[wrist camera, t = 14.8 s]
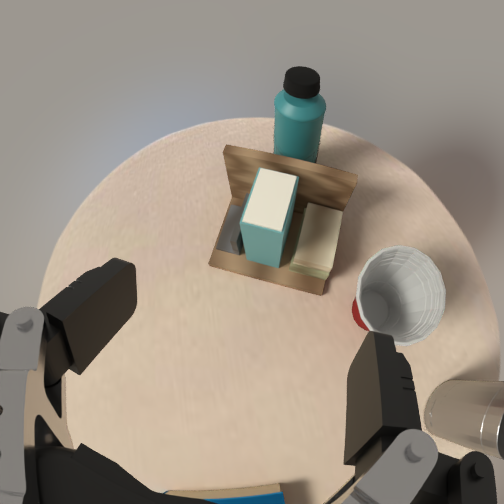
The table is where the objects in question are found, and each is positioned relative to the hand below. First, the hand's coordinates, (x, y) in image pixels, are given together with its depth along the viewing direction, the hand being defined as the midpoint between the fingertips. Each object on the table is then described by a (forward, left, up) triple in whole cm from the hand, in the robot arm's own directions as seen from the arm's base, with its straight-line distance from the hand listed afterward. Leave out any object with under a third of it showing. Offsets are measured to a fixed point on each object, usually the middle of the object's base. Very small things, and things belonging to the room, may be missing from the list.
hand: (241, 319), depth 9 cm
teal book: (0, -14, -30) cm, 33 cm away
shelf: (-1, -15, -31) cm, 34 cm away
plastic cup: (-15, -6, -31) cm, 35 cm away
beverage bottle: (-3, -27, -31) cm, 41 cm away
